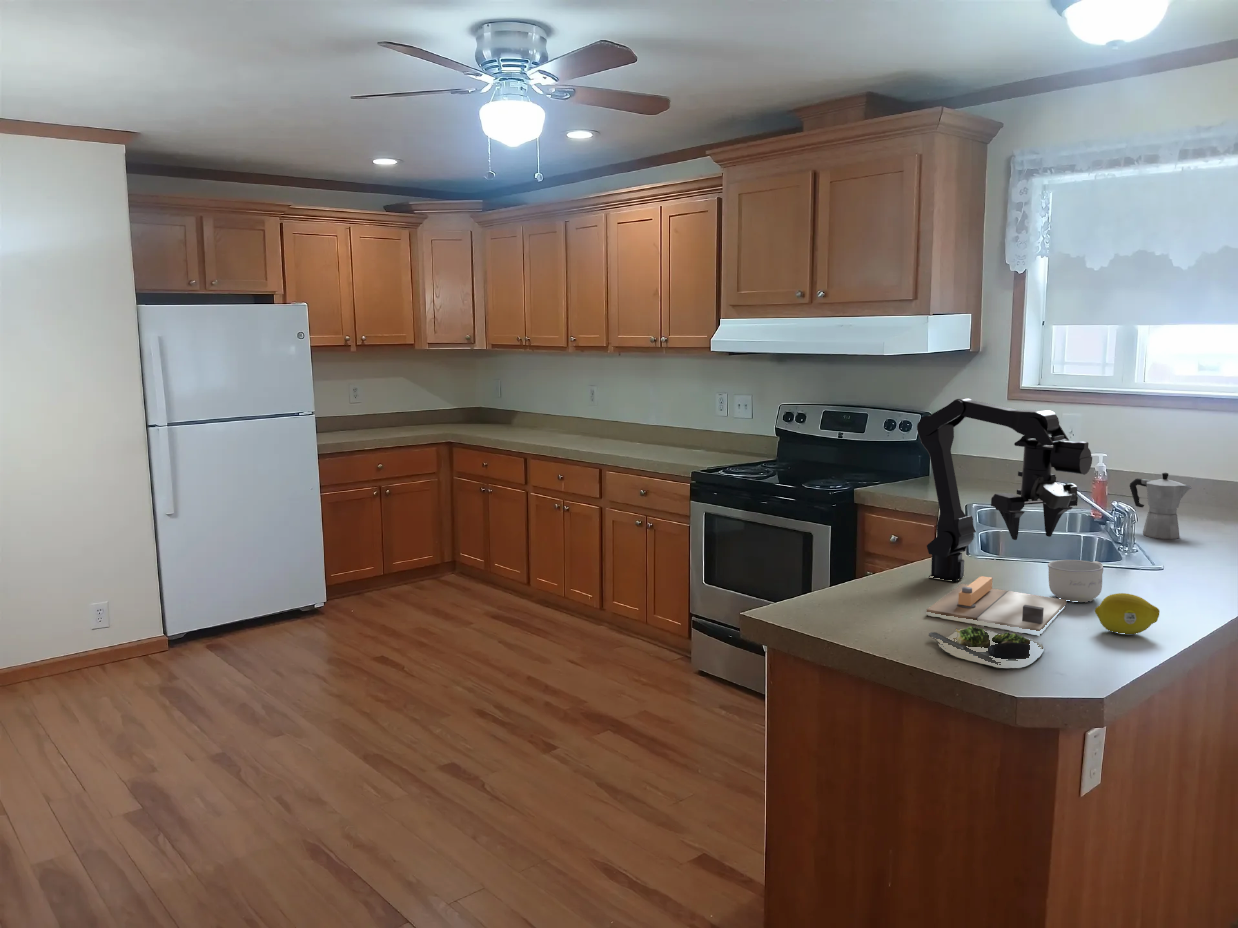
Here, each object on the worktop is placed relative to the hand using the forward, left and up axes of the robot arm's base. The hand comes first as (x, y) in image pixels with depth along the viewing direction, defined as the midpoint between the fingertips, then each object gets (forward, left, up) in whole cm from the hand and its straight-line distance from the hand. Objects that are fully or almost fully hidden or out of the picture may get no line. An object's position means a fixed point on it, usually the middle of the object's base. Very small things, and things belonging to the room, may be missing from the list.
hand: (1031, 538), depth 198 cm
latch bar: (-8, -13, -11) cm, 19 cm away
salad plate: (+3, -40, -14) cm, 43 cm away
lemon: (+21, -15, -14) cm, 30 cm away
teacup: (+9, +5, -14) cm, 17 cm away
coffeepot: (+14, +82, -14) cm, 84 cm away
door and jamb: (-3, -15, -13) cm, 20 cm away
